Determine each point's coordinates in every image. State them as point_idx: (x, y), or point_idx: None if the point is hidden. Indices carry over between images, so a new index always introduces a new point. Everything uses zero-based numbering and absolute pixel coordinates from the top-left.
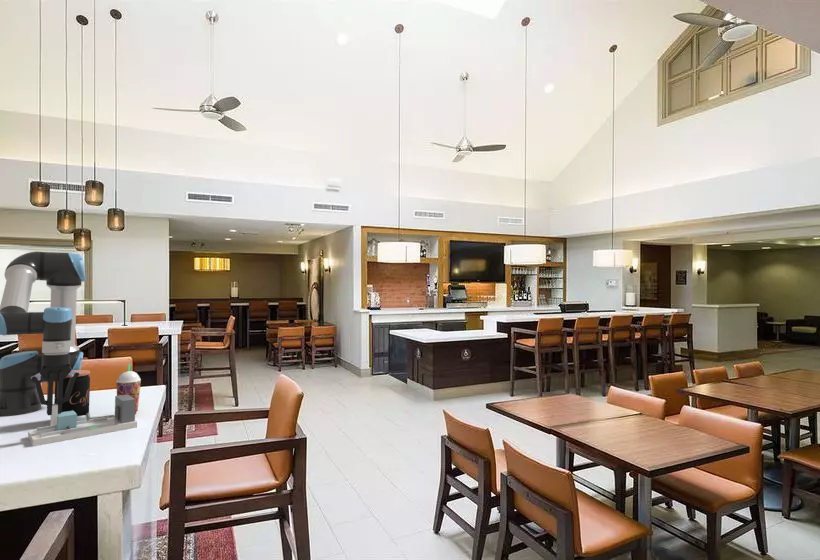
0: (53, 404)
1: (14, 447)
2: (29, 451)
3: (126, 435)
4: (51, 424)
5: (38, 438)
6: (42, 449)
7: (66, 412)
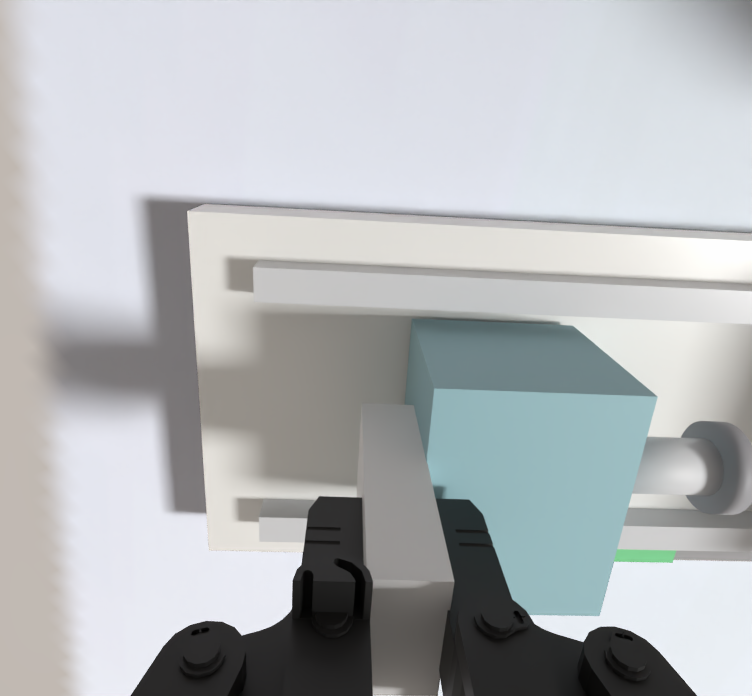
0: (395, 615)
1: (106, 454)
2: (195, 609)
3: (740, 661)
4: (357, 478)
5: (246, 541)
6: (267, 618)
7: (552, 448)
